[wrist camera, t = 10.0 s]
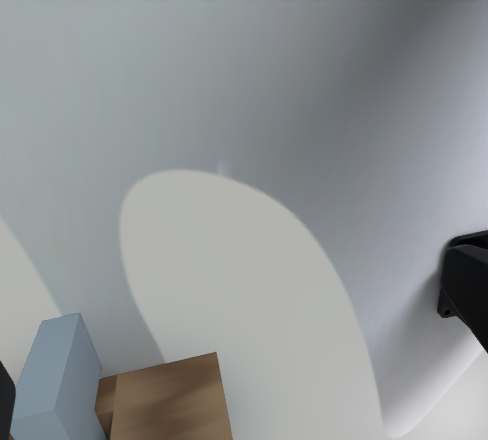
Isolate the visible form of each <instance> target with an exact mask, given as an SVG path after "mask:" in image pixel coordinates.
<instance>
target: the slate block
mask: <svg viewBox="0 0 488 440" xmlns="http://www.w3.org/2000/svg"><path fill="white" fill-rule="evenodd" d="M100 371H101V364H100V362H99V359H98V357H97V354H96V352H95V349H94V347H93V345H92V342H91V340H90V337H89V335H88V332H87V330H86V327H85V325H84V322H83V320H82V317H81V315H80V313H78V314H73V315H68V316H64V317H59V318H54V319H50V320H45V321H42V322H41V325H40V327H39V330H38V333H37V335H36V338H35V340H34V343H33V345H32V348H31V351H30V353H29V356H28V358H27V361H26V363H25V366H24V368H23V371H22V373H21V376H20V379H19V381H18V384H17V386H16V399H15V405H14V411H13V417H12V423H11V429H10V434H11V435H12V437H13V438H14V440H110V436H111V435H110V436H105V433H104V431H103V429H102V427H101V424H100V422H99V420H98V418H97V416H96V413H95V411H94V408H95V402H96V396H97V390H98V383H99V377H100Z"/></svg>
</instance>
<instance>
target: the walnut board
mask: <svg viewBox="0 0 488 440" xmlns="http://www.w3.org/2000/svg"><path fill="white" fill-rule="evenodd" d="M94 411H95V413H96V416H97V418H98V420H99V422H100V424H101V427H102V429H103V431H104V433H105V436H110V435H111V436H110V440H233V439H232V433H231V428H230V423H229V417H228V412H227V407H226V402H225V396H224V390H223V385H222V380H221V374H220V369H219V364H218V359H217V353H216V352H214V353H210V354H205V355H201V356H197V357H192V358H188V359H184V360H179V361H175V362H171V363H167V364H162V365H158V366H154V367H149V368H145V369H141V370H137V371H132V372H128V373H124V374H120V375H115V376H111V377H107V378H102V379H99V383H98V390H97V396H96V402H95V408H94ZM9 440H14V438H13V437H12V435H11V434H10V435H9Z"/></svg>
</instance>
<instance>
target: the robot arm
mask: <svg viewBox="0 0 488 440" xmlns="http://www.w3.org/2000/svg"><path fill="white" fill-rule="evenodd" d="M441 286H442V288H441V293H440V298H439V304H438V309H437V313H438V314H439V315H440V316H441V317H442V318H448V317H452V316H457V317H458V318H459V319H461V320H462V321H463V322H464V323H465V324H466V325H467V326H468V327H469V328H470V329H471V331H472V332H473V334H474V335H475V337H476V338H477V340H478V341H479V342H480V344H481V345H482V346H483V348H484V349H485V350H486V352H487V353H488V230H486V231H481V232H476V233H472V234H467V235H462V236H458V237H455V238H454V239H453V240H452V241H451V243H450V246H449V249H447V251H446V252H445V255H444V261H443V267H442V273H441ZM15 399H16V388H15V385H14V382H13V381H12V379H11V377H10V376H9V374H8V372H7V371H6V369H5V367H4V366H3V364H2V362H1V361H0V440H9V435H10V429H11V423H12V417H13V411H14V405H15Z"/></svg>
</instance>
